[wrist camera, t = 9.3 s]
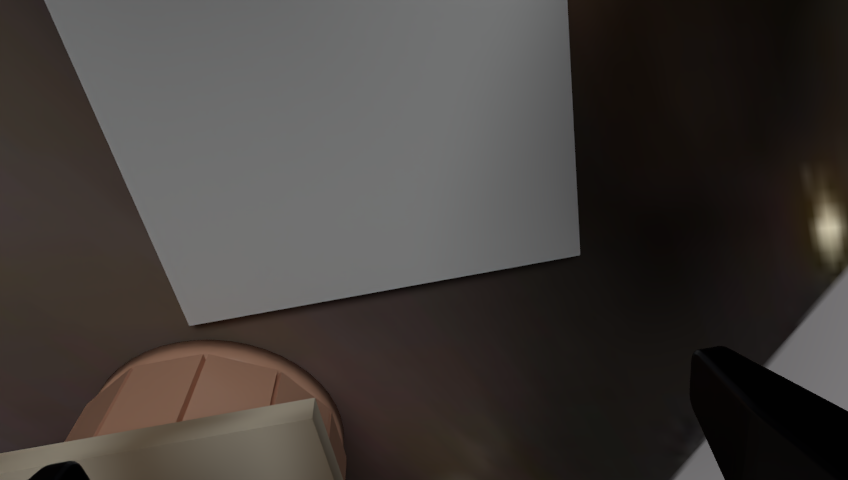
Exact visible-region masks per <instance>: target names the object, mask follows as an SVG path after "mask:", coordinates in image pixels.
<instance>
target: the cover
mask: <svg viewBox="0 0 848 480" xmlns="http://www.w3.org/2000/svg"><path fill="white" fill-rule="evenodd" d="M66 461H75V462H77V463H79V464H80V465H81V466H82V467H83V469H84V471H85V472H86V474H87V475H88V477H89V478H90V480H343V477H342V475H341V472H340V469H339V466H338V463H337V460H336V457H335V454H334V451H333V448H332V446H331V443H330V440H329V437H328V434H327V431H326V428H325V425H324V422H323V420H322V417H321V414H320V411H319V408H318V405H317V402H316V399H315V398H310V399H304V400H299V401H293V402H287V403H282V404H276V405H270V406H265V407H259V408H254V409H248V410H242V411H237V412H231V413H225V414H220V415H214V416H209V417H203V418H197V419H192V420H186V421H180V422H175V423H169V424H164V425H158V426H152V427H147V428H141V429H135V430H130V431H124V432H119V433H113V434H107V435H102V436H96V437H90V438H85V439H79V440H74V441H68V442H62V443H57V444H51V445H45V446H40V447H34V448H29V449H23V450H17V451H12V452H6V453H0V480H28V479H29V478H30V477H32V476H33V475H34V474H35V473H36V472H38V471H39V470H40V469H41V468H43V467H44V466H47V465H50V464H55V463H60V462H66Z"/></svg>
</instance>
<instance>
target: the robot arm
mask: <svg viewBox="0 0 848 480" xmlns="http://www.w3.org/2000/svg"><path fill="white" fill-rule="evenodd" d="M690 400H691V404H692V408H693V410H694V413H695V415H696V417H697V419H698V421H699V424H700V426H701V428H702V430H703V432H704V435H705V437H706V439H707V441H708V443H709V446H710V448H711V450H712V452H713V454H714V457H715V459H716V461H717V463H718V466H719V468H720V470H721V472H722V474H723V476H724V479H725V480H848V411H846V410H844V409H843V408H840V407H839V406H837V405H835V404H833V403H831V402H829V401H827V400H826V399H823V398H822V397H820V396H818V395H816V394H814V393H812V392H810V391H809V390H807V389H805V388H803V387H801V386H799V385H797V384H795V383H793V382H791V381H790V380H788V379H786V378H784V377H782V376H780V375H778V374H776V373H774V372H772V371H771V370H769V369H767V368H765V367H763V366H761V365H759V364H757V363H756V362H754V361H752V360H750V359H748V358H746V357H744V356H742V355H740V354H739V353H737V352H735V351H733V350H731V349H729V348H727V347H724V346H716V347H711V348H705V349H699V350H697V351H695V352H694V353H693V355H692V360H691V376H690ZM28 480H90V478H89V477H88V475H87V474H86V472H85V471H84V469H83V467H82V466H81V465H80V464H79V463H77V462H75V461H66V462H60V463H55V464H50V465H47V466H44V467H43V468H41V469H40V470H39V471H38V472H36V473H35V474H34V475H33V476H32V477H30V478H29V479H28Z"/></svg>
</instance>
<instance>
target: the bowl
mask: <svg viewBox="0 0 848 480" xmlns="http://www.w3.org/2000/svg"><path fill="white" fill-rule="evenodd" d="M310 398H315V399H316V402H317V405H318V408H319V411H320V414H321V417H322V420H323V422H324V425H325V428H326V431H327V434H328V437H329V440H330V443H331V446H332V448H333V451H334V454H335V457H336V460H337V463H338V466H339V469H340V472H341V475H342V477H343V480H345V476H346V458H347V457H346V454H345V451H344V448H343V446H344V431H343V424H342V420H341V416H340V414H339V411H338V409H337V406H336V404H335V403H334V401H333V400H332V398H331V396H330V395H329V393H328V392H327V391H326V390H325V389H324V387H323V386H322V385H321V384H320V383H319V382H318V381H317V380H316V379H315V378H314V377H313V376H312V375H310V374H309V373H308V372H307V371H305V370H304V369H302V368H301V367H299V366H298V365H297V364H295V363H293V362H291V361H289V360H288V359H286V358H284V357H282V356H280V355H277V354H275V353H272V352H270V351H268V350H265V349H262V348H258V347H255V346H251V345H247V344H242V343H237V342H231V341H220V340H193V341H185V342H177V343H173V344H169V345H164V346H160V347H158V348H155V349H152V350H149V351H147V352H144V353H142V354H140V355H139V356H137V357H135V358H133V359H131V360H129V361H128V362H127V363H125V364H124V365H122V366H121V367H120V368H118V369H117V370H116V371H115V372H114V373H113V374H112V375H111V376H110V377H109V378H108V380H107V381H106V383H105V384H104V385H103V387H102V388H101V390H100V391H99V393H98V395H97V396H96V397H95V398H94V399H92V400H91V401H90V402H89V403H88V404H87V405H86V407H85V408H84V410H83V412H82V413H81V415H80V417H79V418H78V420H77V422H76V423H75V425H74V427H73V428H72V430H71V432H70V433H69V435H68V437H67V438H66V440H65V442H68V441H74V440H79V439H85V438H90V437H96V436H102V435H107V434H113V433H119V432H124V431H130V430H135V429H141V428H147V427H152V426H158V425H164V424H169V423H175V422H180V421H186V420H192V419H197V418H203V417H209V416H214V415H220V414H225V413H231V412H237V411H242V410H248V409H254V408H259V407H265V406H270V405H276V404H282V403H287V402H293V401H299V400H304V399H310Z"/></svg>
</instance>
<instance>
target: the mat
mask: <svg viewBox="0 0 848 480" xmlns="http://www.w3.org/2000/svg"><path fill="white" fill-rule="evenodd" d="M44 1H45V3H46V5H47V8H48V10H49V12H50V14H51V17H52V19H53V21H54V23H55V26H56V28H57V30H58V32H59V35H60V37H61V39H62V41H63V43H64V46H65V48H66V50H67V52H68V55H69V57H70V59H71V61H72V64H73V66H74V68H75V70H76V73H77V75H78V77H79V79H80V82H81V84H82V86H83V88H84V91H85V93H86V95H87V97H88V100H89V102H90V104H91V106H92V109H93V111H94V113H95V115H96V118H97V120H98V122H99V124H100V127H101V129H102V131H103V133H104V135H105V138H106V140H107V142H108V144H109V147H110V149H111V151H112V153H113V156H114V158H115V160H116V162H117V165H118V167H119V169H120V171H121V174H122V176H123V178H124V180H125V183H126V185H127V187H128V189H129V192H130V194H131V196H132V198H133V201H134V203H135V205H136V207H137V210H138V212H139V214H140V216H141V219H142V221H143V223H144V225H145V227H146V230H147V232H148V234H149V236H150V239H151V241H152V243H153V245H154V248H155V250H156V252H157V254H158V257H159V259H160V261H161V263H162V266H163V268H164V270H165V272H166V275H167V277H168V279H169V281H170V284H171V286H172V288H173V290H174V293H175V295H176V297H177V299H178V302H179V304H180V306H181V308H182V311H183V313H184V315H185V317H186V319H187V322H188V324H189V326H192V325H198V324H203V323H209V322H214V321H220V320H225V319H231V318H236V317H242V316H247V315H253V314H258V313H264V312H269V311H275V310H281V309H286V308H292V307H297V306H303V305H308V304H314V303H319V302H325V301H330V300H336V299H341V298H347V297H352V296H358V295H363V294H369V293H375V292H380V291H386V290H391V289H397V288H402V287H408V286H413V285H419V284H424V283H430V282H435V281H441V280H446V279H452V278H457V277H463V276H468V275H474V274H480V273H485V272H491V271H496V270H502V269H507V268H513V267H518V266H524V265H529V264H535V263H540V262H546V261H551V260H557V259H562V258H568V257H573V256H579V255H580V239H579V220H578V200H577V181H576V161H575V142H574V122H573V102H572V83H571V63H570V44H569V24H568V5H567V0H44Z"/></svg>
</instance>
